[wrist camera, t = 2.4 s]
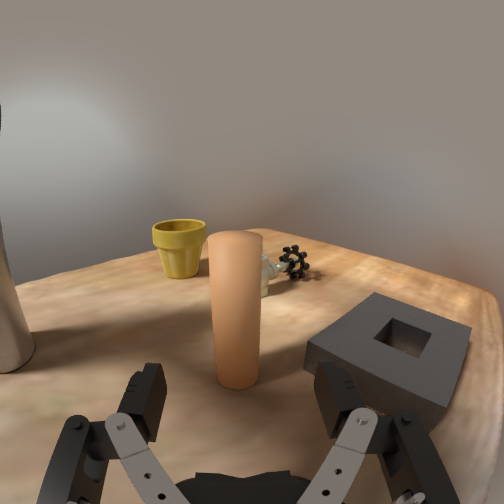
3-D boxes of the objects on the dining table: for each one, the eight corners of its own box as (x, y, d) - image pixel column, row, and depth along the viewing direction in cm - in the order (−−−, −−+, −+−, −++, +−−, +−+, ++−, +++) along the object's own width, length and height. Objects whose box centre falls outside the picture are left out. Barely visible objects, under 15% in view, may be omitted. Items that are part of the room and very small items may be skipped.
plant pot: (217, 274, 53) (216, 225, 49) (168, 288, 46) (163, 234, 43) (193, 259, 60) (190, 216, 57) (149, 270, 54) (145, 223, 51)
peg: (208, 372, 27) (197, 236, 22) (240, 357, 30) (239, 228, 25) (234, 395, 24) (229, 249, 19) (267, 376, 27) (274, 238, 22)
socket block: (303, 368, 28) (307, 340, 27) (369, 315, 38) (374, 292, 37) (428, 434, 16) (446, 408, 15) (461, 352, 27) (471, 327, 25)
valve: (261, 305, 42) (308, 283, 50) (262, 265, 40) (311, 249, 47) (234, 290, 46) (281, 272, 54) (233, 254, 44) (283, 240, 52)
